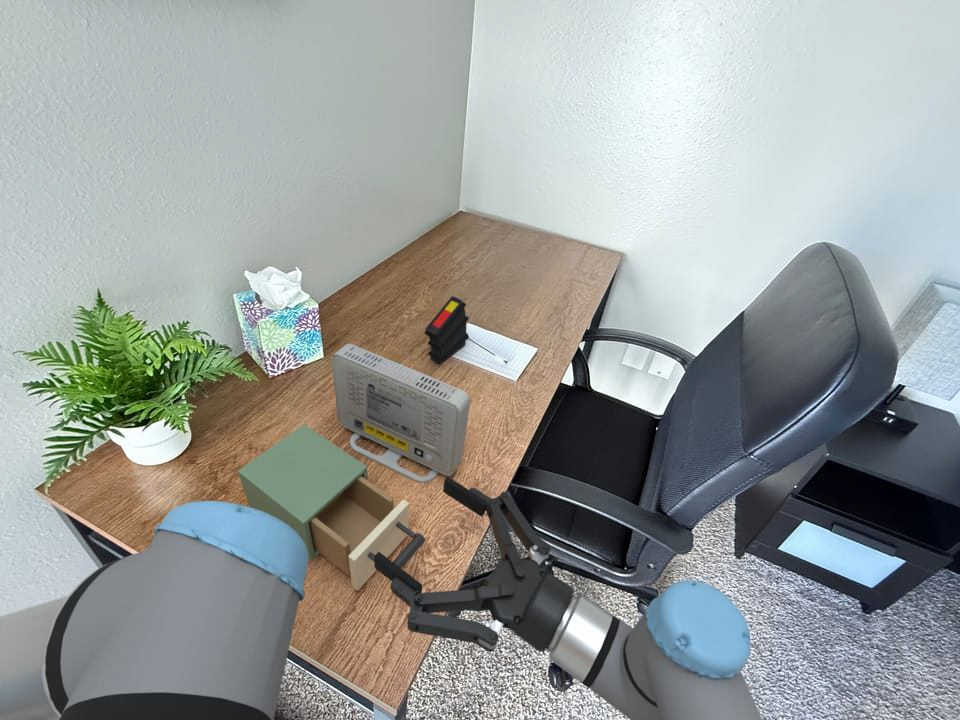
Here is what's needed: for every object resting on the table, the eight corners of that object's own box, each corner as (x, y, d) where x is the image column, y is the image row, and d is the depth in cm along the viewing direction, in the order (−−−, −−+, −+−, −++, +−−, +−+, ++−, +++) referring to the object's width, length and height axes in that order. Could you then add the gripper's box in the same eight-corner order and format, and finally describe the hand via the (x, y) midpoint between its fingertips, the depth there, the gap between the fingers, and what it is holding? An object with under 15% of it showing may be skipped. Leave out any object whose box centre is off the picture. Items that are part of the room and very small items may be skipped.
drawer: (432, 551, 74) (435, 521, 69) (383, 612, 66) (382, 583, 61) (348, 491, 81) (345, 459, 76) (295, 539, 73) (287, 507, 68)
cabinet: (369, 505, 80) (367, 466, 74) (311, 561, 72) (303, 523, 65) (311, 463, 86) (304, 423, 79) (250, 510, 77) (237, 471, 70)
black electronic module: (474, 335, 120) (464, 300, 108) (445, 374, 116) (431, 342, 103) (463, 329, 122) (451, 294, 109) (433, 367, 117) (418, 335, 104)
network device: (466, 462, 90) (477, 386, 78) (444, 495, 84) (452, 418, 71) (357, 412, 97) (352, 334, 85) (329, 439, 91) (319, 359, 78)
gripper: (498, 749, 45) (342, 614, 53) (594, 554, 63) (465, 474, 70) (511, 727, 41) (338, 583, 48) (610, 524, 58) (471, 441, 66)
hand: (413, 518), depth 59 cm, fingers open, 13 cm apart
